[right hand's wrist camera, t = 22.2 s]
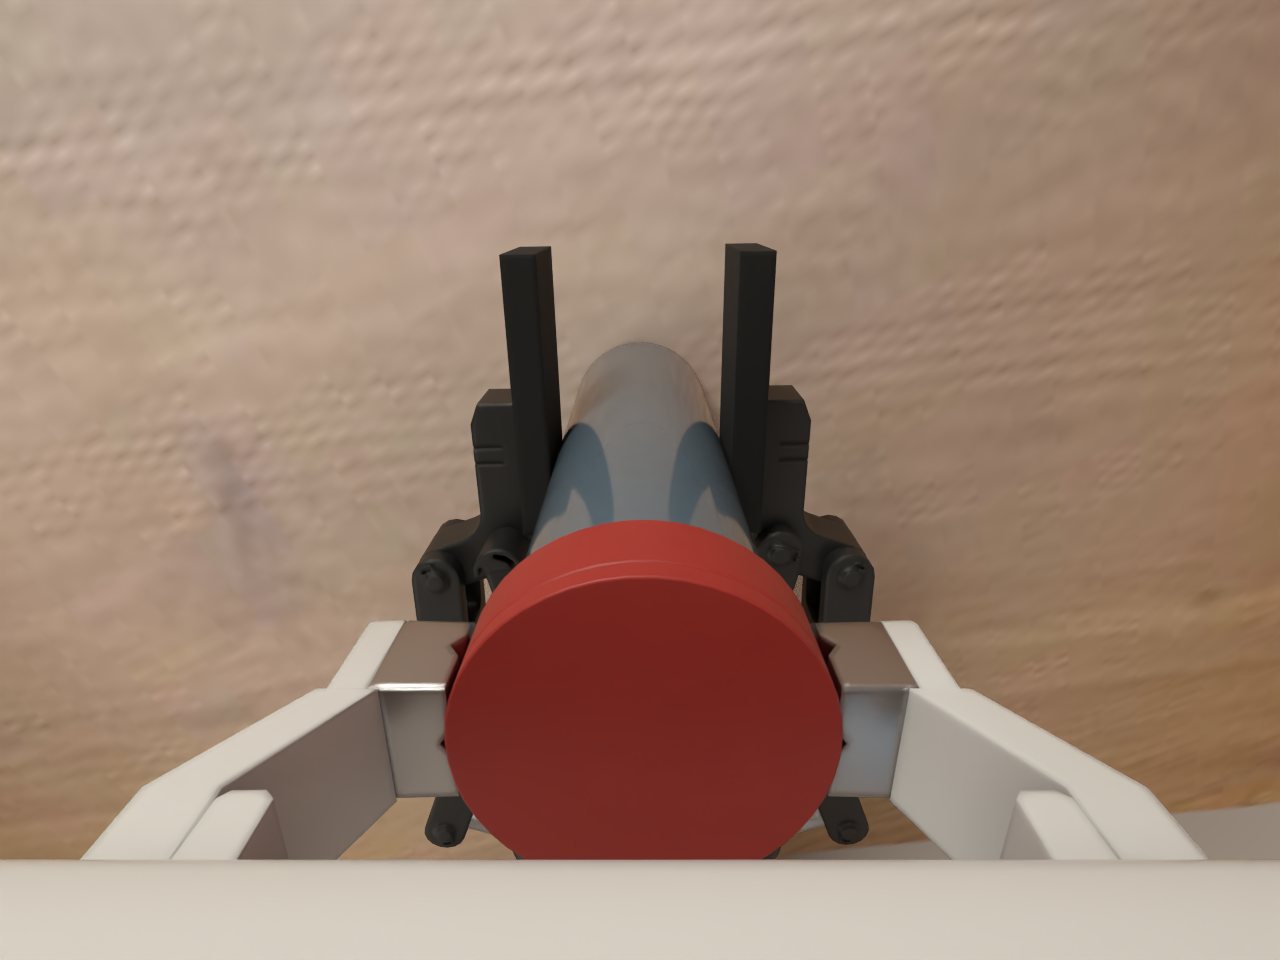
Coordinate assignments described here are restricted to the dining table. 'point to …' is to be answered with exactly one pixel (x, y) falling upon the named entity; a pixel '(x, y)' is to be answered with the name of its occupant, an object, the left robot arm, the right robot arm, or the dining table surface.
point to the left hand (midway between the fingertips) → (637, 250)
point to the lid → (643, 701)
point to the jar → (641, 452)
